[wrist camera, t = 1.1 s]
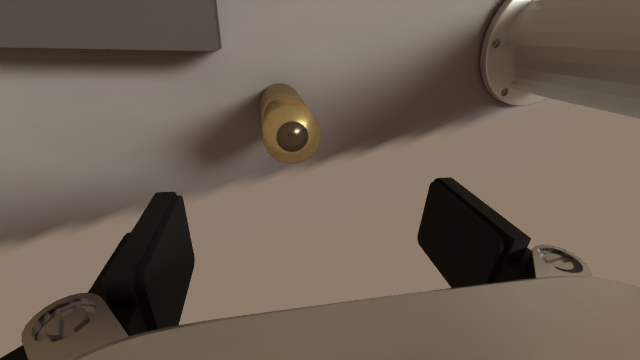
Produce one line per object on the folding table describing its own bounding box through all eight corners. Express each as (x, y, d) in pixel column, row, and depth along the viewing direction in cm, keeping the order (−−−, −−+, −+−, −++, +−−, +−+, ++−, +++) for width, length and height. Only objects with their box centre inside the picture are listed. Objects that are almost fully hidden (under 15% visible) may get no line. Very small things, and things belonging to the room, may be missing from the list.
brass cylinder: (300, 83, 28) (321, 107, 20) (300, 123, 30) (320, 162, 21) (258, 83, 28) (261, 108, 19) (261, 124, 29) (264, 165, 21)
